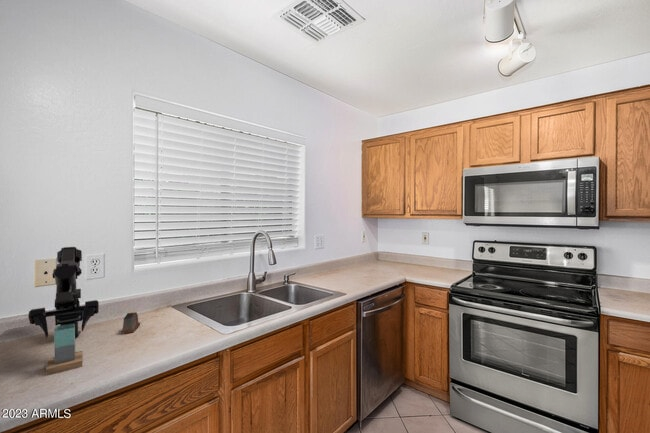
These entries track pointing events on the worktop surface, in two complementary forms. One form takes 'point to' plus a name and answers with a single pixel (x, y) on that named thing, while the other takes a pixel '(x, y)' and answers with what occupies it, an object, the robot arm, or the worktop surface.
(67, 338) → the teal block grey base
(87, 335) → the worktop surface
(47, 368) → the stand
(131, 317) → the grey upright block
